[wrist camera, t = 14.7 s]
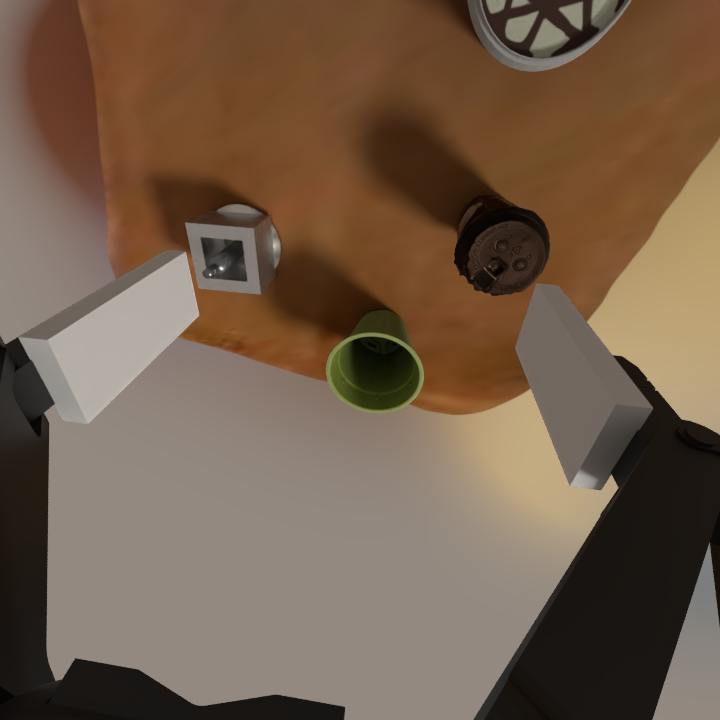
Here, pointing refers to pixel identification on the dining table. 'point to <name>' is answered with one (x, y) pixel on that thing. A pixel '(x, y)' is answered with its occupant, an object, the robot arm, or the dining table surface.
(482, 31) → the food container
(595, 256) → the dining table surface
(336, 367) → the plant pot
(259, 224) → the collar
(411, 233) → the dining table surface
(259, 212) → the post
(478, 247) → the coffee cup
